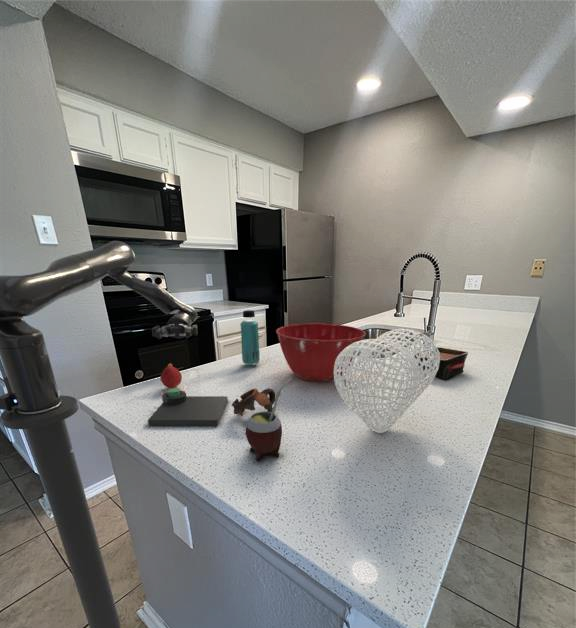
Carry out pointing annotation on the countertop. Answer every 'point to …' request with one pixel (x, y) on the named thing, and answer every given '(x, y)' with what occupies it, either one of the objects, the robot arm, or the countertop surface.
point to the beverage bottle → (249, 339)
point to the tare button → (173, 392)
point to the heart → (414, 387)
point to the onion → (171, 377)
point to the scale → (189, 410)
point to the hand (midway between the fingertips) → (172, 335)
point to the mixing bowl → (316, 348)
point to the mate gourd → (265, 431)
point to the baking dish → (448, 363)
